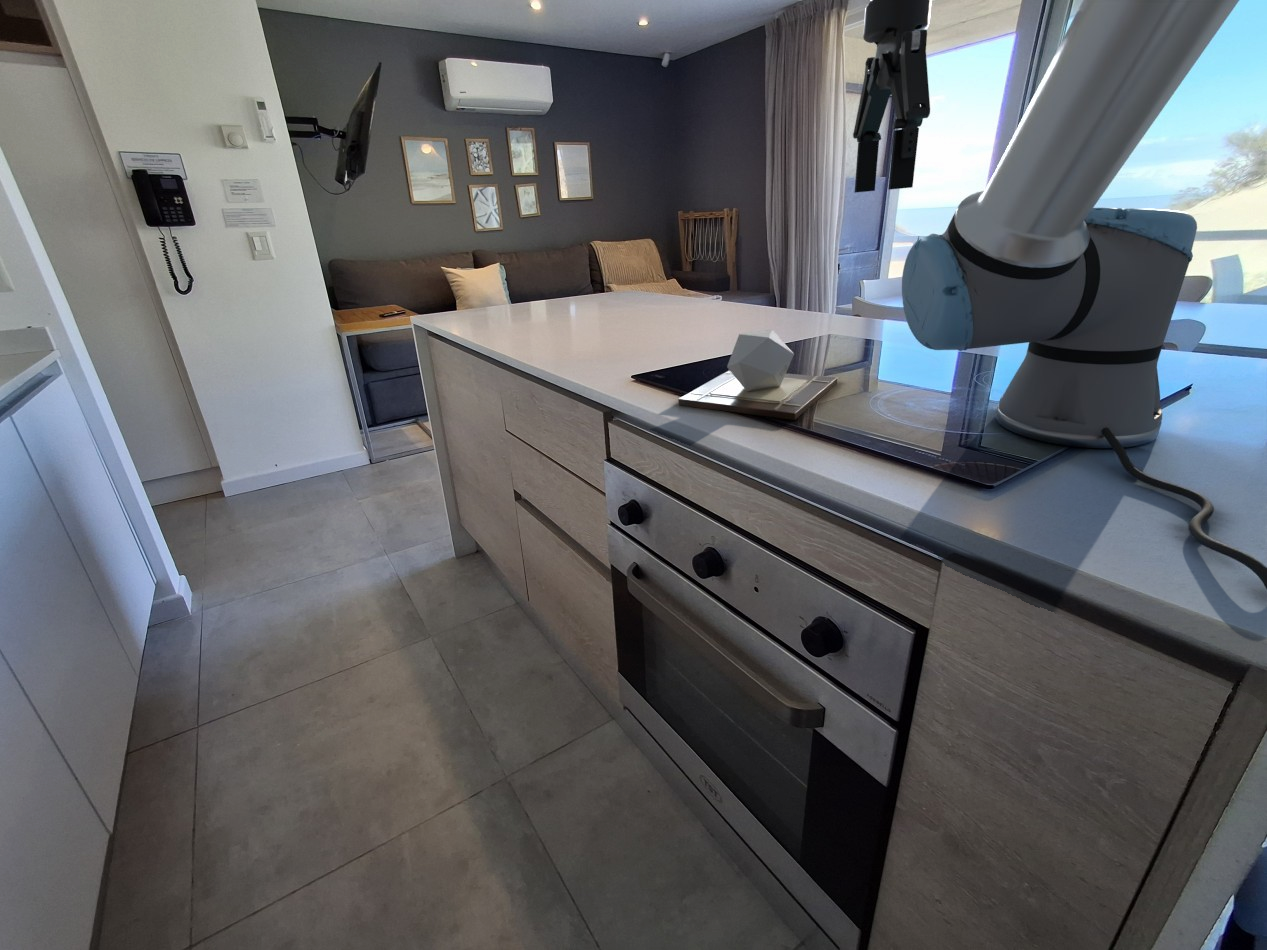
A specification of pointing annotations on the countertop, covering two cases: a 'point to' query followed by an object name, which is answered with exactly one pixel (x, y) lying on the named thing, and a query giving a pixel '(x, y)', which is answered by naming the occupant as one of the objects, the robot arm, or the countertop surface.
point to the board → (760, 396)
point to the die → (760, 360)
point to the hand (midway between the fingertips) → (881, 190)
